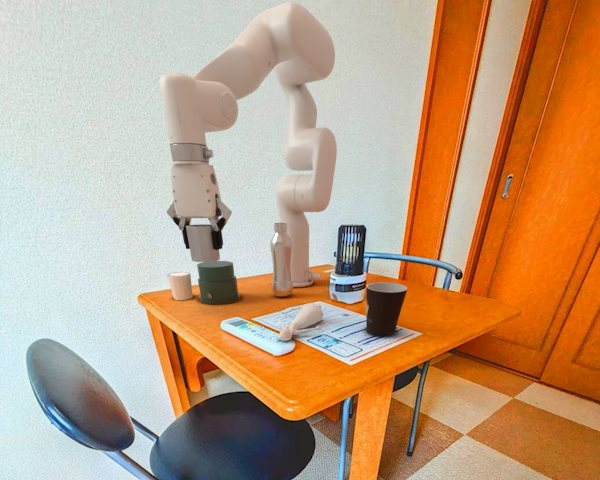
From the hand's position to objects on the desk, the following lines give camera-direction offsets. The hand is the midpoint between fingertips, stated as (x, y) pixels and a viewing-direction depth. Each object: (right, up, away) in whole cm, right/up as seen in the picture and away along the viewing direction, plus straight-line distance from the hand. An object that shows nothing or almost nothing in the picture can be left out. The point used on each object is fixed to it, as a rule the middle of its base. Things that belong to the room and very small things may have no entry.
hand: (204, 248), depth 76 cm
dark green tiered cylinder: (-1, -6, +19) cm, 20 cm away
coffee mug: (+43, -21, -3) cm, 48 cm away
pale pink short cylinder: (-13, -6, +21) cm, 25 cm away
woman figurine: (+24, -21, -2) cm, 32 cm away
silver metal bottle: (+18, -5, +22) cm, 29 cm away
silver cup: (0, -2, +1) cm, 3 cm away
